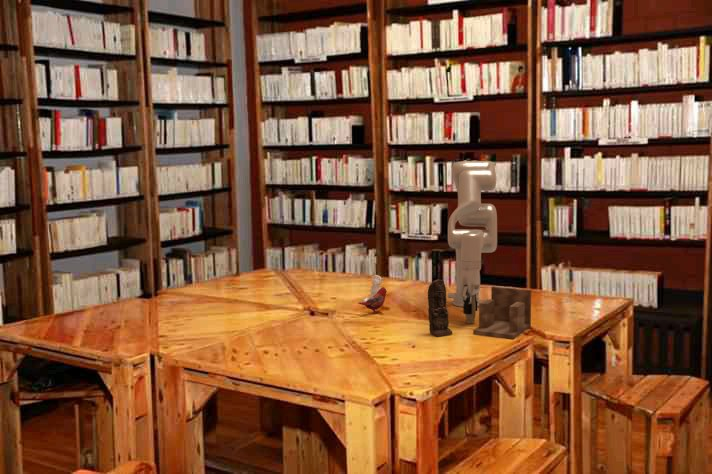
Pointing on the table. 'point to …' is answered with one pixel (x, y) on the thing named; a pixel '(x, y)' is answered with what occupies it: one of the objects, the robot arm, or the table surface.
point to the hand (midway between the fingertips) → (470, 311)
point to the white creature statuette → (374, 286)
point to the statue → (438, 309)
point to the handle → (471, 317)
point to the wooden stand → (505, 313)
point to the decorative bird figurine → (375, 300)
